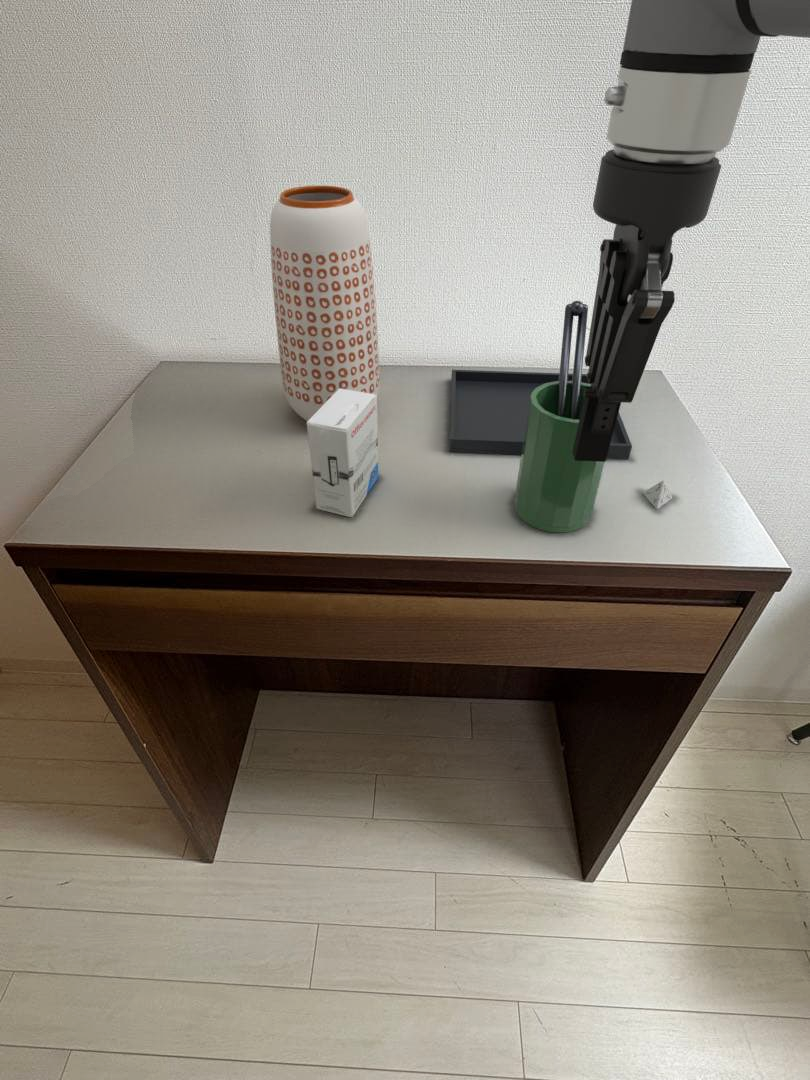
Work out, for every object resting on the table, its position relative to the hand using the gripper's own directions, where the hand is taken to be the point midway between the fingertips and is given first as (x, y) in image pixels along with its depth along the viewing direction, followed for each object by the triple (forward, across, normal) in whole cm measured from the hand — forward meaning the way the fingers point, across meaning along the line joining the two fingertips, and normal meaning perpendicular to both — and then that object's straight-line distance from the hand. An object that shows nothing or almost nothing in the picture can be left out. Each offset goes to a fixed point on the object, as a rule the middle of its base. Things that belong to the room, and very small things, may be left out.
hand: (588, 456), depth 56 cm
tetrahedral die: (+14, -12, +13) cm, 22 cm away
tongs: (+3, -12, 0) cm, 12 cm away
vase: (+14, -30, -29) cm, 44 cm away
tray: (+14, -31, 0) cm, 34 cm away
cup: (+14, -10, 0) cm, 17 cm away
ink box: (+14, -11, -24) cm, 30 cm away
